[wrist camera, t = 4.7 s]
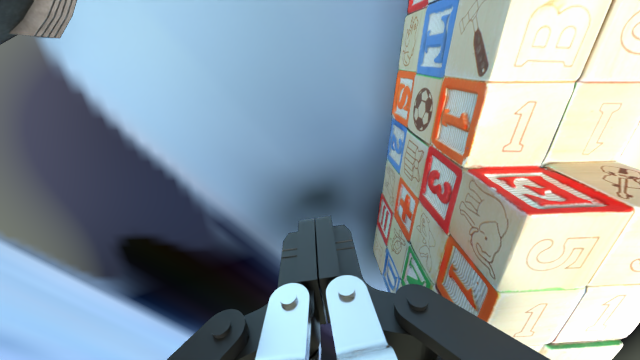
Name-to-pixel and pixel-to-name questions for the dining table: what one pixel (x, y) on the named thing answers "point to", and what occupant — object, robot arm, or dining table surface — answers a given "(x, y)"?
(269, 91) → the dining table surface
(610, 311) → the stack of blocks
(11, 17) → the juicer
